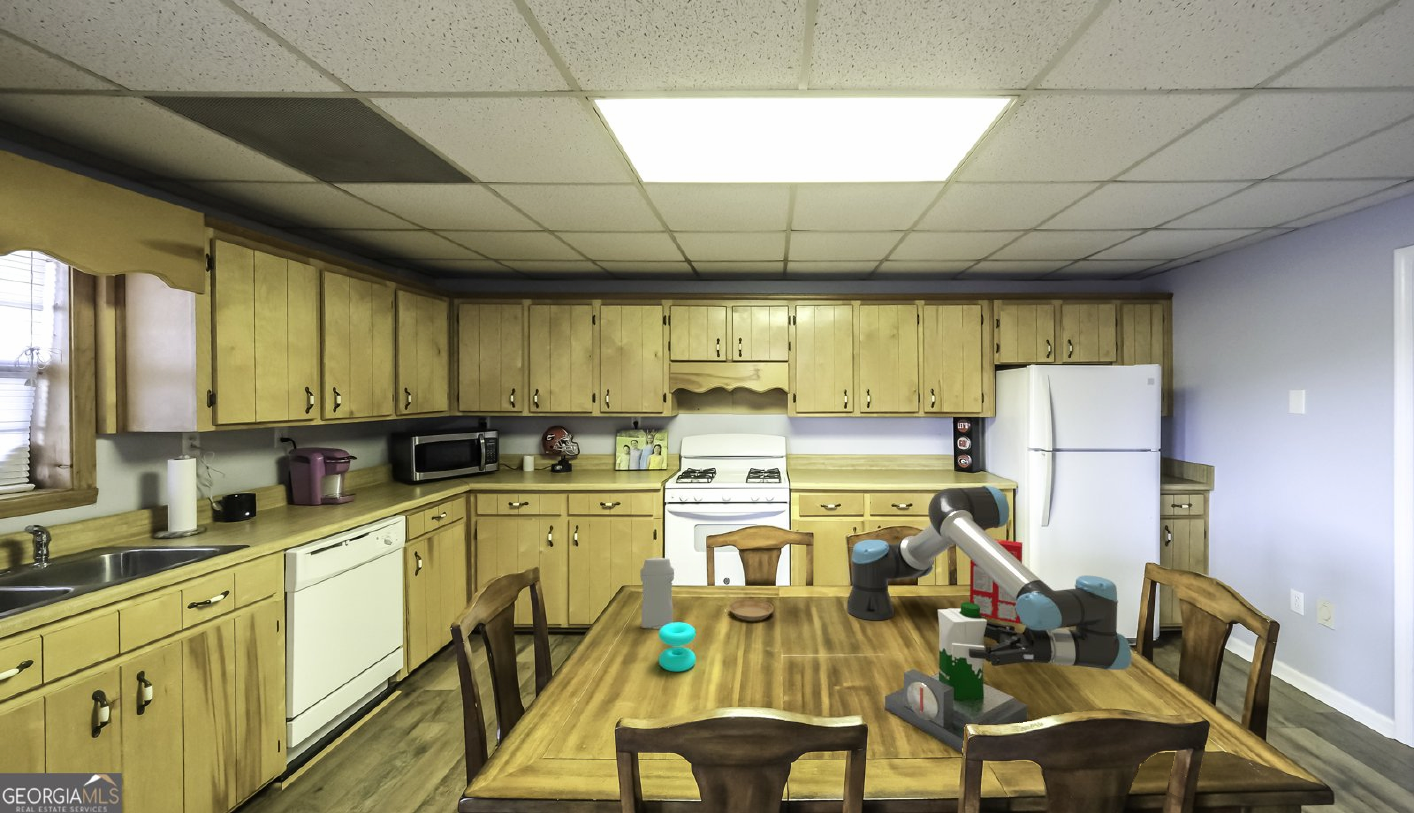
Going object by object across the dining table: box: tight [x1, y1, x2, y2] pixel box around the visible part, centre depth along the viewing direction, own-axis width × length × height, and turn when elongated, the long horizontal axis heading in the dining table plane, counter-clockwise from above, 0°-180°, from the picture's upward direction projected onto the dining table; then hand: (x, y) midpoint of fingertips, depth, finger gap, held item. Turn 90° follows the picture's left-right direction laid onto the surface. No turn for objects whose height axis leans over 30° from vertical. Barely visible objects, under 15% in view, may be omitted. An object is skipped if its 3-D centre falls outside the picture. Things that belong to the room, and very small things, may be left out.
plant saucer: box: [728, 599, 774, 622], centre depth 187 cm, size 15×15×3 cm
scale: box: [884, 668, 1028, 754], centre depth 129 cm, size 20×24×10 cm
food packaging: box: [969, 538, 1023, 624], centre depth 186 cm, size 15×5×25 cm, turn 58°
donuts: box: [658, 621, 697, 673], centre depth 152 cm, size 10×10×10 cm
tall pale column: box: [639, 557, 675, 630], centre depth 177 cm, size 11×4×22 cm, turn 95°
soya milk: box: [937, 602, 988, 700], centre depth 130 cm, size 9×9×20 cm
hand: (945, 636), depth 130 cm, fingers open, 13 cm apart
